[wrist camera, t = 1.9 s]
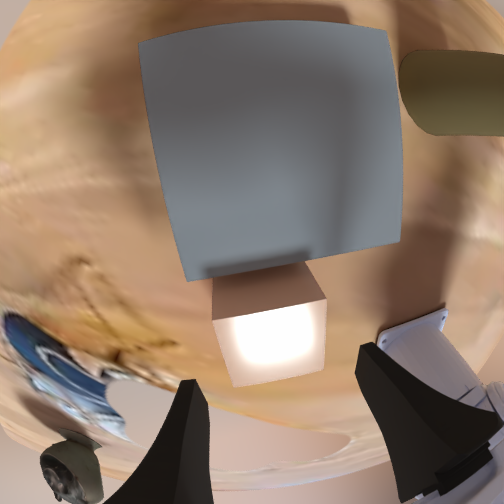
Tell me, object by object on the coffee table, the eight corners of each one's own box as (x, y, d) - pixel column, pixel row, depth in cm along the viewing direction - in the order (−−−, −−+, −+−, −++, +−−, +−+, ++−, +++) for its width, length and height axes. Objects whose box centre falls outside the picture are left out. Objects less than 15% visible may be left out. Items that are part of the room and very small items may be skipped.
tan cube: (301, 315, 18) (323, 369, 14) (229, 329, 18) (233, 387, 13) (297, 250, 16) (326, 298, 11) (213, 265, 16) (211, 320, 11)
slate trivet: (373, 222, 15) (399, 241, 13) (192, 253, 15) (187, 281, 12) (358, 43, 11) (386, 30, 8) (154, 59, 10) (138, 43, 8)
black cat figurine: (63, 415, 23) (42, 426, 24) (44, 491, 12) (26, 486, 13) (124, 450, 27) (93, 456, 28) (118, 520, 16) (85, 514, 17)
